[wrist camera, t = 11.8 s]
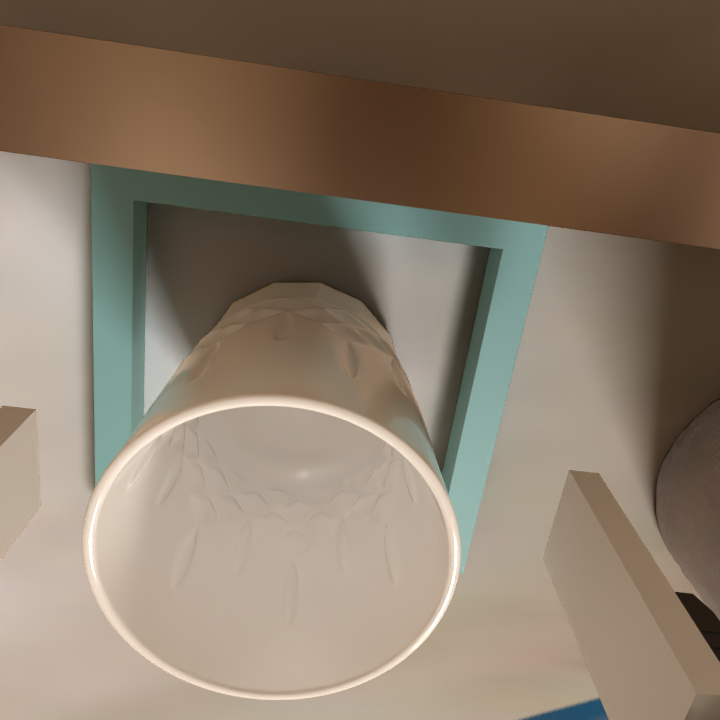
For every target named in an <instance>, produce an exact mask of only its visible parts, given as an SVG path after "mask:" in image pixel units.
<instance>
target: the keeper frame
mask: <svg viewBox="0 0 720 720" xmlns="http://www.w3.org/2000/svg"><path fill="white" fill-rule="evenodd" d="M147 202H150V203H158V204H166V205H173V206H181V207H188V208H196V209H203V210H211V211H218V212H226V213H233V214H241V215H248V216H256V217H263V218H271V219H278V220H286V221H294V222H301V223H309V224H316V225H324V226H331V227H339V228H346V229H354V230H361V231H369V232H376V233H384V234H391V235H399V236H406V237H414V238H422V239H429V240H437V241H444V242H452V243H459V244H467V245H474V246H482V247H489V248H490V253H489V257H488V262H487V267H486V271H485V276H484V280H483V285H482V290H481V294H480V299H479V304H478V308H477V313H476V318H475V322H474V327H473V332H472V336H471V341H470V345H469V350H468V355H467V359H466V364H465V369H464V373H463V378H462V383H461V387H460V392H459V397H458V401H457V406H456V411H455V415H454V420H453V424H452V429H451V434H450V438H449V443H448V448H447V452H446V457H445V462H444V466H443V471H442V477H443V480H444V483H445V485H446V488H447V491H448V494H449V497H450V500H451V503H452V506H453V509H454V512H455V515H456V519H457V523H458V527H459V533H460V542H461V560H460V569H459V574H463V572H464V568H465V564H466V560H467V556H468V552H469V547H470V543H471V539H472V535H473V531H474V527H475V523H476V519H477V515H478V511H479V507H480V503H481V499H482V495H483V490H484V486H485V482H486V478H487V474H488V470H489V466H490V462H491V458H492V454H493V450H494V446H495V442H496V437H497V433H498V429H499V425H500V421H501V417H502V413H503V409H504V405H505V401H506V397H507V393H508V389H509V385H510V380H511V376H512V372H513V368H514V364H515V360H516V356H517V352H518V348H519V344H520V340H521V336H522V332H523V327H524V323H525V319H526V315H527V311H528V307H529V303H530V299H531V295H532V291H533V287H534V283H535V279H536V275H537V270H538V266H539V262H540V258H541V254H542V250H543V246H544V242H545V238H546V234H547V230H548V226H547V225H539V224H532V223H525V222H517V221H510V220H503V219H495V218H488V217H481V216H473V215H466V214H459V213H451V212H444V211H437V210H429V209H422V208H415V207H407V206H400V205H393V204H385V203H378V202H371V201H363V200H356V199H349V198H341V197H334V196H327V195H319V194H312V193H305V192H297V191H290V190H283V189H275V188H268V187H261V186H253V185H246V184H239V183H231V182H224V181H217V180H210V179H202V178H195V177H188V176H180V175H173V174H166V173H158V172H151V171H144V170H136V169H129V168H122V167H114V166H107V165H100V164H92V163H91V220H92V292H93V364H94V436H95V487H96V485H97V483H98V481H99V479H100V477H101V476H102V474H103V472H104V471H105V469H106V468H107V467H108V465H109V464H110V462H111V461H112V460H113V458H114V457H115V456H116V454H117V453H118V451H119V450H120V449H121V447H122V446H123V445H124V443H125V442H126V440H127V439H128V438H129V436H130V435H131V434H132V432H133V431H134V429H135V428H136V427H137V425H138V424H139V422H140V421H141V420H142V418H143V410H144V353H145V295H146V238H147Z"/></svg>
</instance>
